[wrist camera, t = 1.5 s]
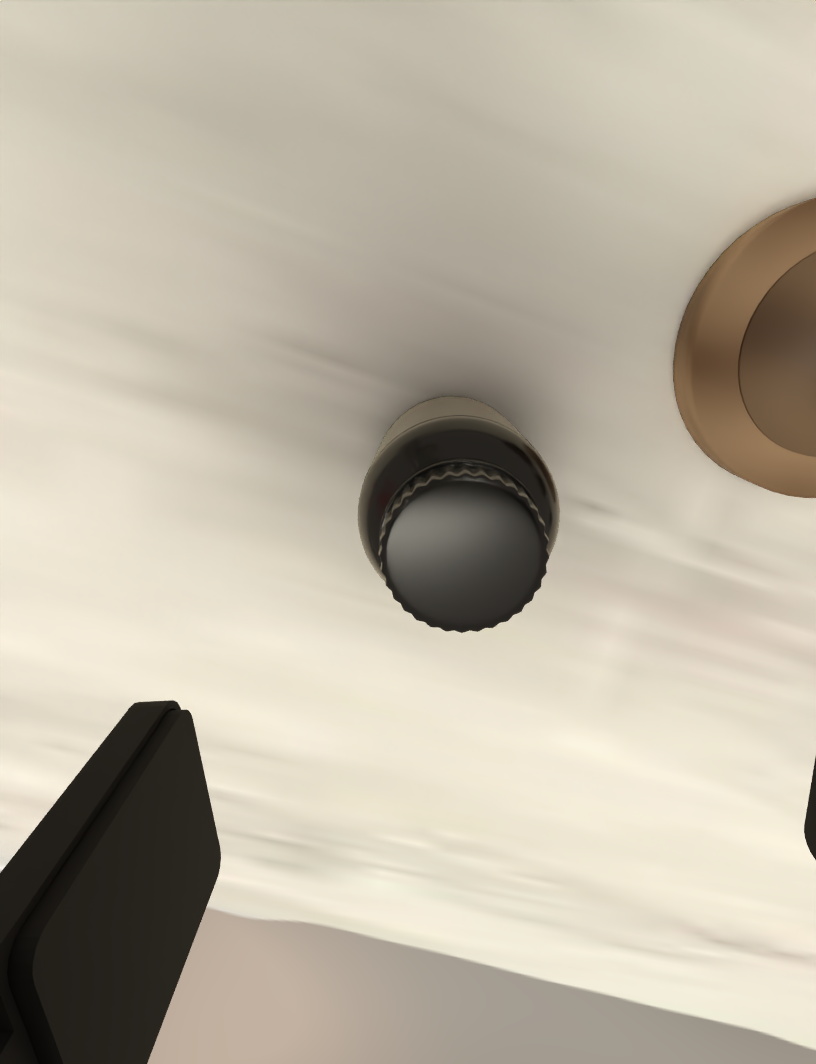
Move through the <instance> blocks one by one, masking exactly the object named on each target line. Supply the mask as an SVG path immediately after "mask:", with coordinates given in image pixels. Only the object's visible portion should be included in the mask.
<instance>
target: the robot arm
mask: <svg viewBox="0 0 816 1064" xmlns="http://www.w3.org/2000/svg"><path fill="white" fill-rule="evenodd" d="M804 833H805V839H806V842H807V845H808V847H809V850H810V852H811V853H812V855H813V857H814V858H815V860H816V758H815V764H814V770H813V776H812V782H811V789H810V795H809V801H808V807H807V813H806V819H805V825H804ZM220 861H221V852H220V845H219V840H218V836H217V831H216V826H215V822H214V817H213V812H212V808H211V803H210V798H209V793H208V789H207V784H206V779H205V775H204V770H203V765H202V761H201V756H200V751H199V746H198V742H197V737H196V732H195V728H194V723H193V719H192V715H191V713H190V712H189V711H188V710H181V708H180V706H179V704H178V703H177V702H175V701H153V702H138V703H134V704H133V705H132V706H131V707H130V708H129V709H128V711H127V712H126V713H125V715H124V716H123V717H122V718H121V720H120V721H119V722H118V724H117V725H116V726H115V727H114V729H113V730H112V731H111V732H110V734H109V735H108V736H107V738H106V739H105V740H104V741H103V743H102V744H101V745H100V747H99V748H98V749H97V750H96V752H95V753H94V754H93V755H92V757H91V758H90V759H89V761H88V762H87V763H86V764H85V766H84V767H83V768H82V770H81V771H80V772H79V773H78V775H77V776H76V777H75V778H74V780H73V781H72V782H71V784H70V785H69V786H68V787H67V789H66V790H65V791H64V792H63V794H62V795H61V796H60V798H59V799H58V800H57V801H56V803H55V804H54V805H53V807H52V808H51V809H50V810H49V812H48V813H47V814H46V815H45V817H44V818H43V819H42V821H41V822H40V823H39V824H38V826H37V827H36V828H35V830H34V831H33V832H32V833H31V835H30V836H29V837H28V838H27V840H26V841H25V842H24V844H23V845H22V846H21V847H20V849H19V850H18V851H17V853H16V854H15V855H14V856H13V858H12V859H11V860H10V861H9V863H8V864H7V865H6V867H5V868H4V869H3V870H2V872H1V873H0V1064H147V1062H148V1059H149V1057H150V1054H151V1052H152V1049H153V1046H154V1044H155V1041H156V1038H157V1036H158V1033H159V1030H160V1028H161V1025H162V1023H163V1020H164V1017H165V1015H166V1012H167V1010H168V1007H169V1004H170V1001H171V999H172V996H173V994H174V991H175V988H176V986H177V983H178V980H179V978H180V975H181V972H182V970H183V967H184V965H185V962H186V959H187V956H188V954H189V951H190V948H191V946H192V943H193V940H194V938H195V935H196V933H197V930H198V927H199V925H200V922H201V920H202V917H203V914H204V912H205V909H206V906H207V904H208V901H209V898H210V896H211V893H212V891H213V888H214V885H215V883H216V880H217V877H218V874H219V869H220Z"/></svg>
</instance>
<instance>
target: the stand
mask: <svg viewBox="0 0 816 1064" xmlns="http://www.w3.org/2000/svg"><path fill="white" fill-rule="evenodd" d="M674 387H675V394H676V400H677V403H678V407H679V410H680V414H681V416H682V418H683V421H684V423H685V425H686V427H687V430H688V431H689V433H690V434H691V436H692V437H693V439H694V440H695V442H696V444H697V445H698V446H699V447H700V448H701V449H702V450H703V451H704V453H705V454H706V455H707V456H708V457H709V458H711V459H712V460H713V461H714V462H715V463H717V464H718V465H719V466H721V467H722V468H724V469H725V470H727V471H729V472H730V473H732V474H734V475H736V476H738V477H741V478H743V479H745V480H747V481H749V482H751V483H754V484H756V485H758V486H760V487H763V488H765V489H768V490H770V491H773V492H777V493H780V494H784V495H788V496H795V497H803V498H816V198H814V199H811V200H808V201H805V202H802V203H799V204H796V205H793V206H791V207H789V208H786V209H784V210H782V211H780V212H777V213H775V214H773V215H772V216H770V217H768V218H767V219H765V220H763V221H761V222H760V223H758V224H756V225H755V226H754V227H752V228H751V229H750V230H748V231H747V232H746V233H744V234H743V235H742V236H740V237H739V238H738V239H737V240H736V241H735V242H734V243H733V244H732V245H731V246H730V247H729V248H727V249H726V250H725V251H724V252H723V253H722V255H721V256H720V257H719V258H718V259H717V261H716V262H715V263H714V264H713V265H712V266H711V268H710V269H709V270H708V272H707V273H706V275H705V276H704V278H703V279H702V281H701V282H700V284H699V285H698V287H697V289H696V290H695V292H694V294H693V296H692V298H691V300H690V302H689V304H688V306H687V309H686V311H685V314H684V317H683V319H682V322H681V325H680V329H679V333H678V337H677V341H676V346H675V354H674Z"/></svg>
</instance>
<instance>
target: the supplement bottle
mask: <svg viewBox="0 0 816 1064" xmlns="http://www.w3.org/2000/svg"><path fill="white" fill-rule="evenodd" d="M559 516H560V509H559V499H558V493H557V489H556V486H555V483H554V480H553V478H552V475H551V473H550V471H549V469H548V467H547V465H546V464H545V462H544V460H543V459H542V457H541V456H540V455H539V453H538V452H537V451H536V450H535V449H534V447H533V446H532V445H531V444H530V443H529V442H528V441H527V440H526V439H525V438H524V437H523V436H522V435H521V434H520V432H519V431H518V430H517V429H516V428H515V427H514V426H513V425H512V424H511V423H510V422H509V421H508V420H507V419H506V418H505V417H504V416H502V415H501V414H500V413H499V412H497V411H496V410H495V409H493V408H492V407H490V406H488V405H486V404H484V403H482V402H480V401H477V400H474V399H470V398H465V397H456V396H448V397H439V398H434V399H430V400H428V401H425V402H422V403H420V404H418V405H416V406H414V407H413V408H411V409H409V410H408V411H407V412H405V413H404V414H403V415H402V416H401V417H399V418H398V419H397V421H396V422H395V423H394V424H393V425H392V426H391V428H390V429H389V431H388V432H387V434H386V435H385V437H384V439H383V441H382V443H381V445H380V447H379V449H378V451H377V453H376V456H375V458H374V460H373V462H372V464H371V466H370V468H369V471H368V473H367V475H366V477H365V480H364V483H363V486H362V490H361V494H360V498H359V506H358V526H359V533H360V538H361V541H362V545H363V548H364V550H365V552H366V555H367V557H368V559H369V561H370V563H371V564H372V566H373V567H374V569H375V570H376V572H377V573H378V574H379V576H380V577H381V578H382V579H383V580H384V581H385V583H386V586H387V587H388V588H389V589H390V590H391V591H392V594H393V598H394V599H395V600H396V601H398V602H399V603H401V605H402V607H403V609H404V610H405V611H407V612H409V613H411V614H412V615H413V616H414V618H415V619H416V620H419V621H423V622H426V623H427V625H429V626H430V627H439V628H441V629H443V630H445V631H452V630H455V631H458V632H461V633H463V632H466V631H469V630H472V631H477V632H478V631H480V630H482V629H484V628H493V627H495V626H496V625H497V624H499V623H500V622H506V621H508V620H509V619H510V618H511V617H512V616H513V615H514V614H517V613H519V612H521V611H522V609H523V607H524V605H525V604H527V603H529V602H530V601H532V599H533V596H534V593H535V592H536V591H537V590H538V589H539V588H540V587H541V579H542V578H543V577H544V575H545V574H546V573H547V571H546V563H547V561H548V559H549V556H550V554H551V552H552V549H553V547H554V544H555V541H556V537H557V533H558V527H559Z"/></svg>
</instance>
